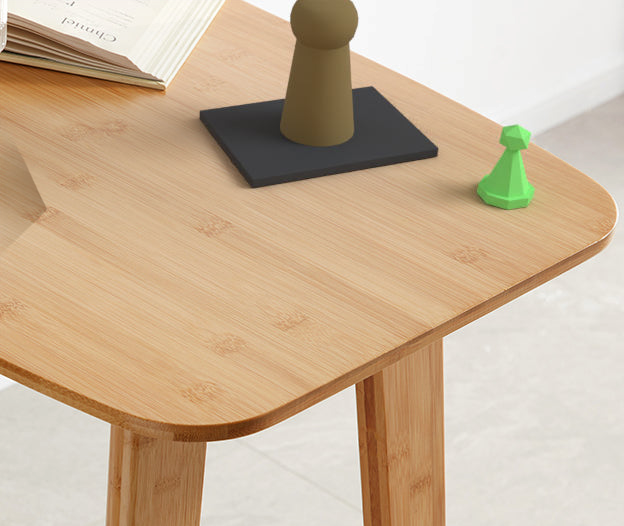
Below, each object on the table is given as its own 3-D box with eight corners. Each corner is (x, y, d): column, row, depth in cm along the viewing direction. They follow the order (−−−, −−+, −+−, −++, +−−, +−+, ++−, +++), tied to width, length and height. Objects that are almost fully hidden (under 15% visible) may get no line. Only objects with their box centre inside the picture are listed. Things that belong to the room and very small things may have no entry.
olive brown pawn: (269, 137, 90) (274, 4, 84) (293, 106, 95) (300, -22, 88) (341, 152, 89) (352, 18, 82) (363, 120, 94) (375, -9, 87)
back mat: (252, 188, 85) (252, 179, 85) (199, 118, 94) (199, 110, 93) (437, 156, 91) (439, 147, 90) (371, 93, 100) (372, 85, 99)
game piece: (544, 198, 87) (559, 127, 83) (508, 215, 84) (521, 143, 81) (501, 175, 89) (514, 105, 85) (465, 191, 87) (476, 120, 83)
